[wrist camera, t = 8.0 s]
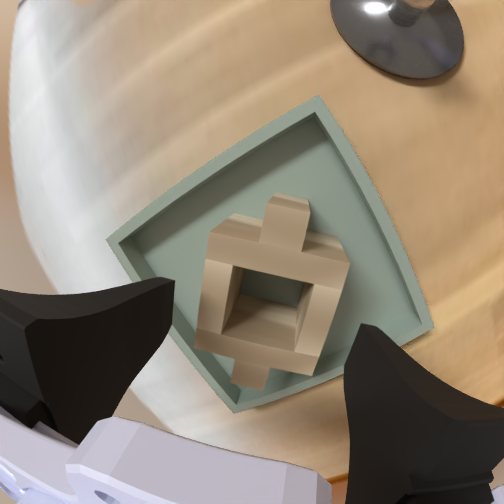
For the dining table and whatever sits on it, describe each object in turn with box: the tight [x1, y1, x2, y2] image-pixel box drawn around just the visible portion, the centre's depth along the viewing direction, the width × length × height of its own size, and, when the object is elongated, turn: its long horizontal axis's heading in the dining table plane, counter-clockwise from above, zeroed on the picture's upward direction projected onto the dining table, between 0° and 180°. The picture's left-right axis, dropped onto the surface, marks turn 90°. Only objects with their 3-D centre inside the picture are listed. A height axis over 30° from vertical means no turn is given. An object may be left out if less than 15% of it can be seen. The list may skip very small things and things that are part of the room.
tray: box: [106, 95, 434, 413], centre depth 16 cm, size 13×13×2 cm
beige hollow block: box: [194, 192, 350, 391], centre depth 14 cm, size 8×5×4 cm, turn 169°
